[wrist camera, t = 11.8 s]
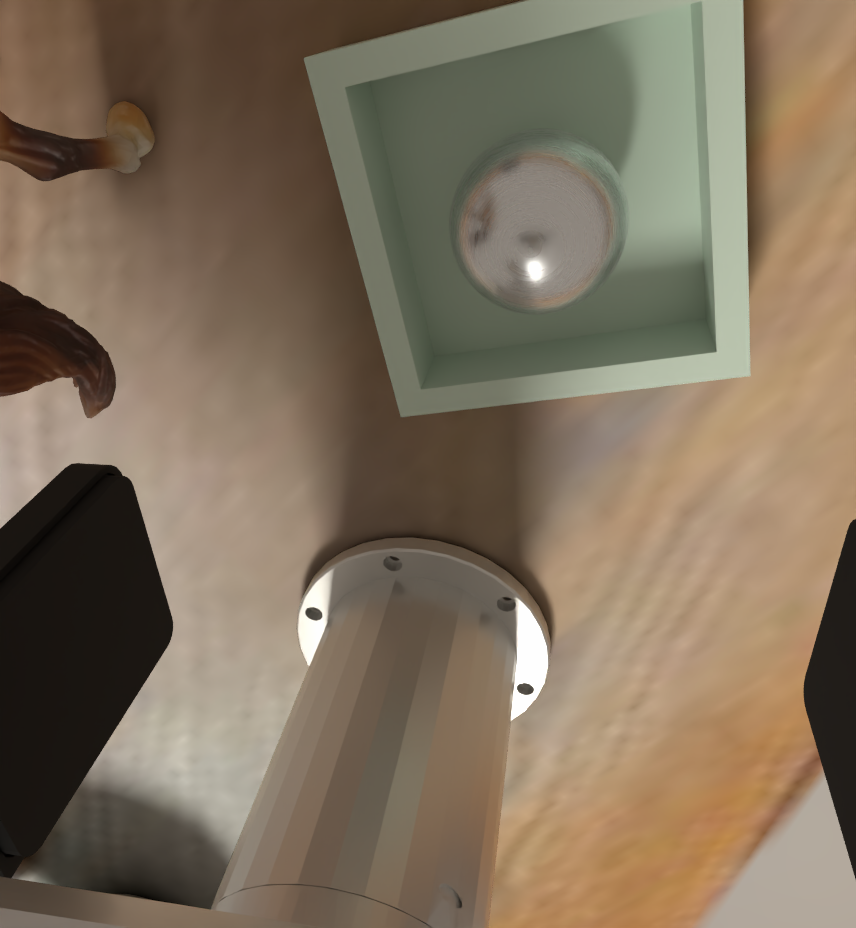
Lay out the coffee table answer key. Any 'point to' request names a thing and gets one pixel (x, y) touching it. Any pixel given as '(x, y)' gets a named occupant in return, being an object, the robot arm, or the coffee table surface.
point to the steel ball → (539, 221)
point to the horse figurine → (24, 318)
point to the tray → (571, 110)
